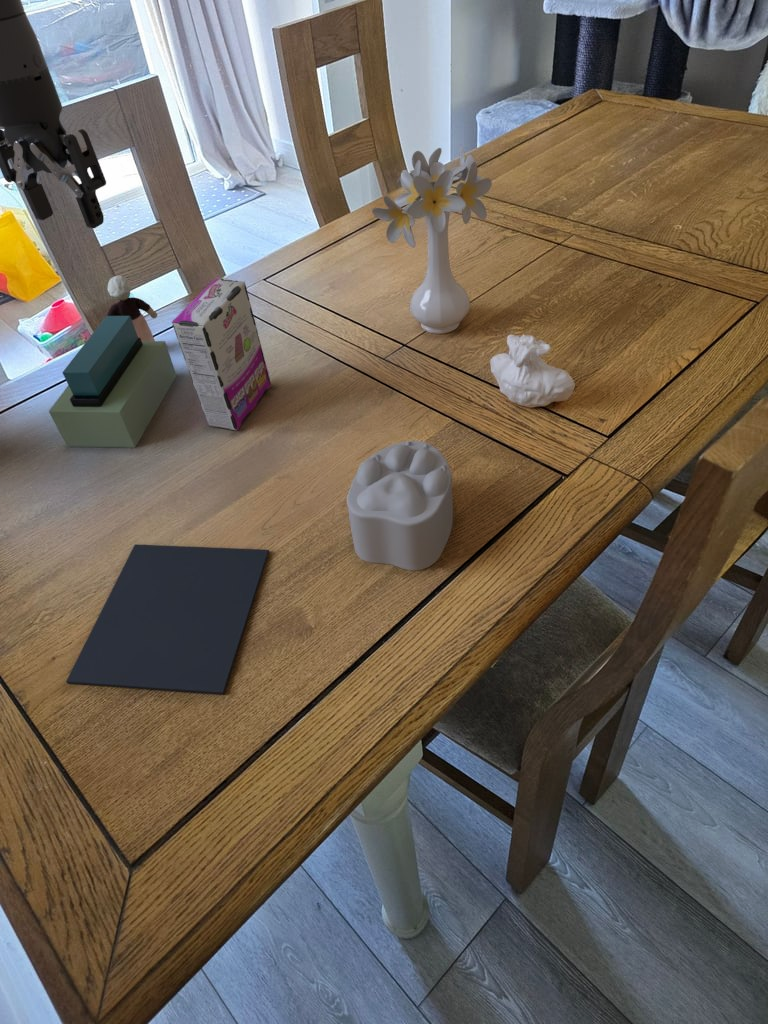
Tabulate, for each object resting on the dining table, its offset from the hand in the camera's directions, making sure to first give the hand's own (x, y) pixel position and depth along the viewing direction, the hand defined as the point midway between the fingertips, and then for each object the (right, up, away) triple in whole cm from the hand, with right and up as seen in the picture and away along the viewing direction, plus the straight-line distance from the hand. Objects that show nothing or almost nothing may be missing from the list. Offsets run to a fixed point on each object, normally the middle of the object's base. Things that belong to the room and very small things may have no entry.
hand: (70, 221), depth 85 cm
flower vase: (+47, -7, +24) cm, 53 cm away
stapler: (+1, -17, +11) cm, 20 cm away
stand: (+1, -21, +15) cm, 26 cm away
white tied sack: (+58, -21, +9) cm, 62 cm away
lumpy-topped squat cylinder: (+41, -37, -6) cm, 56 cm away
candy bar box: (+18, -21, +13) cm, 31 cm away
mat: (+17, -46, -12) cm, 51 cm away
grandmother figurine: (0, -10, +26) cm, 28 cm away
